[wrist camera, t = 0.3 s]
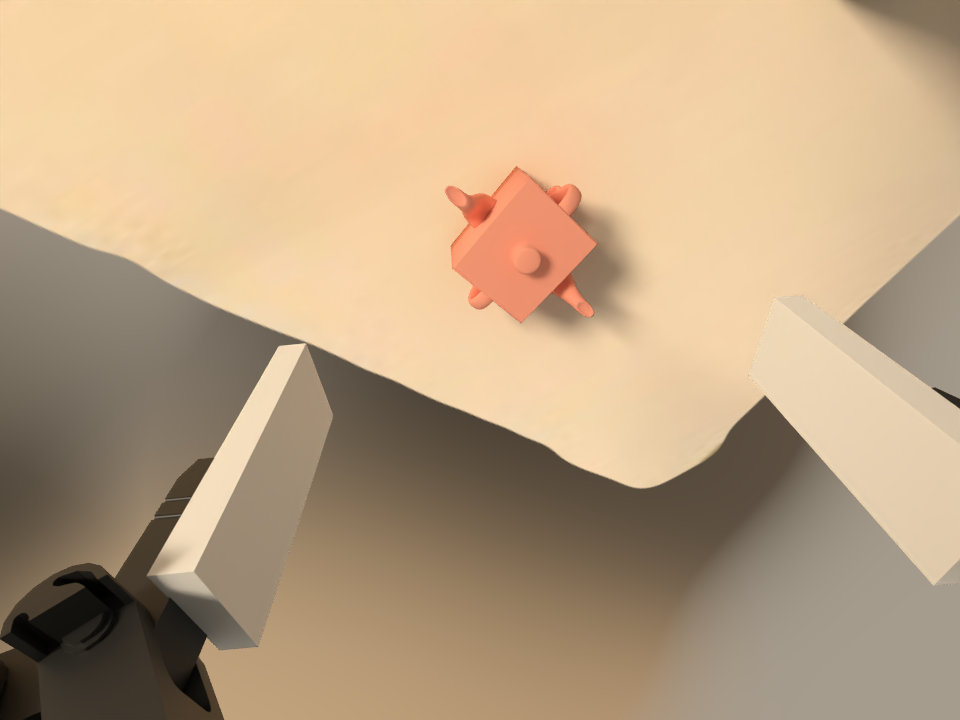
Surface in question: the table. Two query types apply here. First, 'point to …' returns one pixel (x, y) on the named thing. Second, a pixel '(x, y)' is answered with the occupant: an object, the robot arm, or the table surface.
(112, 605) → the robot arm
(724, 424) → the table surface
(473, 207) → the teapot
